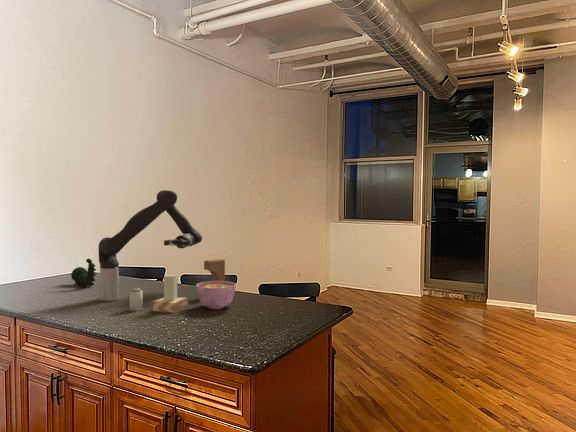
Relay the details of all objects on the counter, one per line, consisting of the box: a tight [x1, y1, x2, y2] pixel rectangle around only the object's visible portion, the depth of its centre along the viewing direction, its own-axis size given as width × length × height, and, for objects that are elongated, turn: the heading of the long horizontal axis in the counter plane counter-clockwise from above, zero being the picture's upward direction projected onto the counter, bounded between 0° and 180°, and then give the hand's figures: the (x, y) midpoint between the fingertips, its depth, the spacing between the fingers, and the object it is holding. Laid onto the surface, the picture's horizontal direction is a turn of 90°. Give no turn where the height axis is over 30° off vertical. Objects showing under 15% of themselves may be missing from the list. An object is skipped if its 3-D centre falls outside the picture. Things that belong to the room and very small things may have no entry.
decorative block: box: [203, 258, 226, 281], centre depth 244 cm, size 11×6×20 cm, turn 136°
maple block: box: [152, 296, 189, 314], centre depth 212 cm, size 12×12×5 cm
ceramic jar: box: [129, 287, 144, 312], centre depth 210 cm, size 6×6×10 cm
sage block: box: [163, 274, 178, 301], centre depth 211 cm, size 5×5×12 cm
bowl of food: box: [195, 280, 237, 310], centre depth 216 cm, size 20×20×12 cm
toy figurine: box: [71, 258, 97, 288], centre depth 267 cm, size 9×19×25 cm
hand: (172, 243), depth 234 cm, fingers open, 8 cm apart
